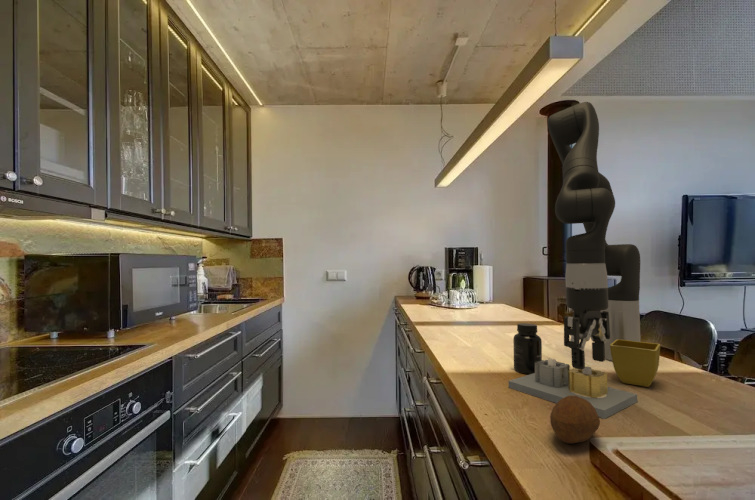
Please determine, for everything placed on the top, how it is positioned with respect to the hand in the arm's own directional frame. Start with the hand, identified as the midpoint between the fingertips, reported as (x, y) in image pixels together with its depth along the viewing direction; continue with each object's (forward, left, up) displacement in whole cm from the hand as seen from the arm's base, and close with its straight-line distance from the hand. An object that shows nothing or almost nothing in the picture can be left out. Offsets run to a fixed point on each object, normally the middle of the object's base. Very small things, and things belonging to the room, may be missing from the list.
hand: (588, 364), depth 74 cm
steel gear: (0, -8, -6) cm, 10 cm away
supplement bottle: (-8, -19, -7) cm, 22 cm away
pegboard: (0, -4, -7) cm, 8 cm away
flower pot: (-20, +1, -7) cm, 21 cm away
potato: (+19, +7, -7) cm, 22 cm away
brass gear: (0, 0, -6) cm, 6 cm away
